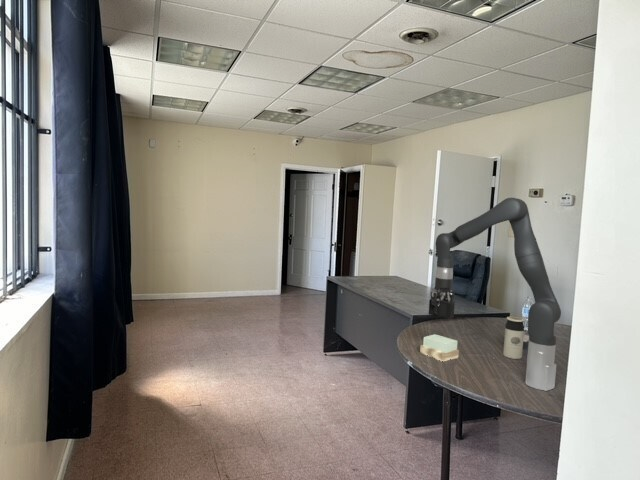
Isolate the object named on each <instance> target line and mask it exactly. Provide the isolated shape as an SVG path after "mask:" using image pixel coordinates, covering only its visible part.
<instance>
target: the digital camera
mask: <svg viewBox="0 0 640 480" xmlns="http://www.w3.org/2000/svg"><path fill="white" fill-rule="evenodd" d="M428 303H429V304H428V315H429V316H436V317H439V318H445V319H448V320H450V319H452V318H454V317H455V316H454V315H455V305H456V304H455V302H454V301H453V302H449V301H444V300H443V301H442V302H441V304H440V306H439V307H440V312H439V315H437V314H435V313H434V310H435V306H434V305H432V304H431V298H430V299H429V302H428ZM437 303H438V301H437Z"/></svg>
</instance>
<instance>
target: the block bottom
mask: <svg viewBox="0 0 640 480" xmlns="http://www.w3.org/2000/svg"><path fill="white" fill-rule="evenodd" d="M419 349H420V350H419V353H420V354H423V355H425V356H427V355H428V356H427V357H430V358H432V357H433V358H432V359H434V358H435V359H434V360H437V361H439V360H440V361H439V362H442V361H443V362H446V361H451V360H454V359H455V360H456V359H458V358H459V354H460V350H459V349H457V350H454V351H451V352H448V353H444V352H441V351H438V350H435V349H432V348H429V347H426V346H423V344H420V348H419ZM450 359H451V360H450Z"/></svg>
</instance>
